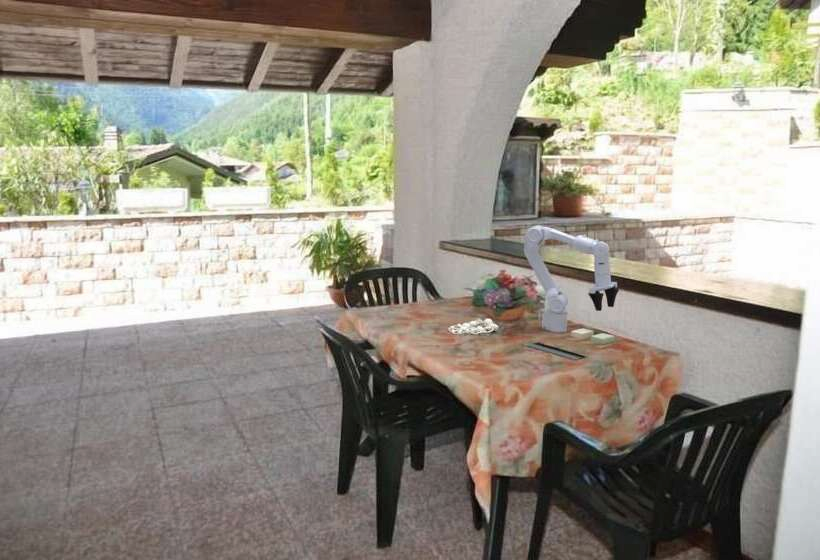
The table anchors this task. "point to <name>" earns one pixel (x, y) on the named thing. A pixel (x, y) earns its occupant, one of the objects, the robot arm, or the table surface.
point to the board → (588, 341)
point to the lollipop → (541, 294)
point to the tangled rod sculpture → (472, 325)
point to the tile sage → (602, 338)
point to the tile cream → (582, 333)
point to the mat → (556, 351)
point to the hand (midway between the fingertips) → (604, 308)
